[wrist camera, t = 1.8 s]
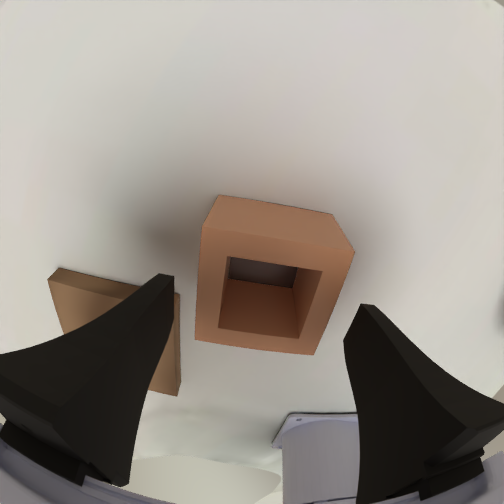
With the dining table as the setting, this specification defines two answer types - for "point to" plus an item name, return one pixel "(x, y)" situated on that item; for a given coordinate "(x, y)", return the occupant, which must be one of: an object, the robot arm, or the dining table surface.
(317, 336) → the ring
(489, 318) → the dining table surface
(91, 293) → the post stand
